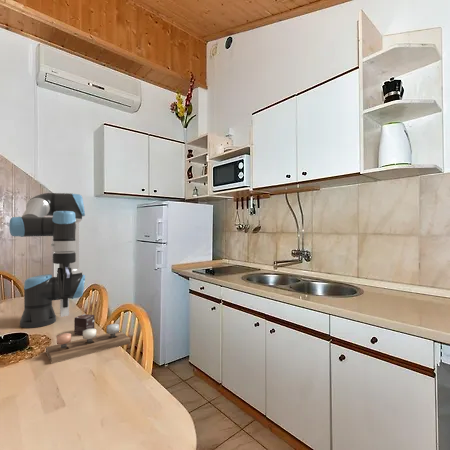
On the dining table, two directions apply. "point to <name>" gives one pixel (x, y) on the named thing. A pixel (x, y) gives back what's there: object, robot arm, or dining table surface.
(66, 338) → the pink rounded piece
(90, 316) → the box
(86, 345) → the panel
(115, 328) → the grey knob
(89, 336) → the key ivory
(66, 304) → the robot arm
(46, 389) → the dining table surface
